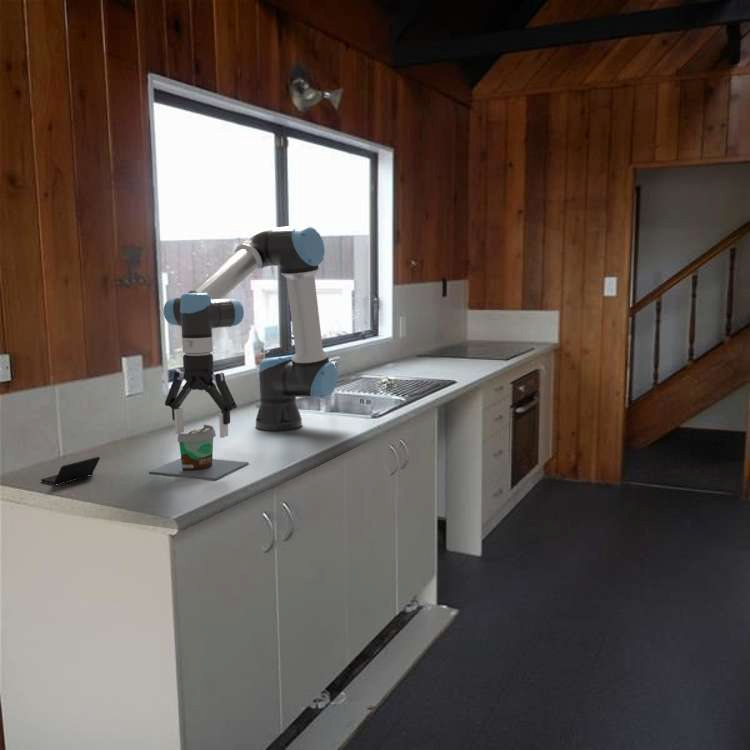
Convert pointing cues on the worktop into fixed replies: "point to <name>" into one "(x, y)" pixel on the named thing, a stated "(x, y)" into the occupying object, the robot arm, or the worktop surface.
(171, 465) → the mat
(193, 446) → the food container
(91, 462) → the handheld gaming console
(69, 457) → the worktop surface
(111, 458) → the worktop surface
